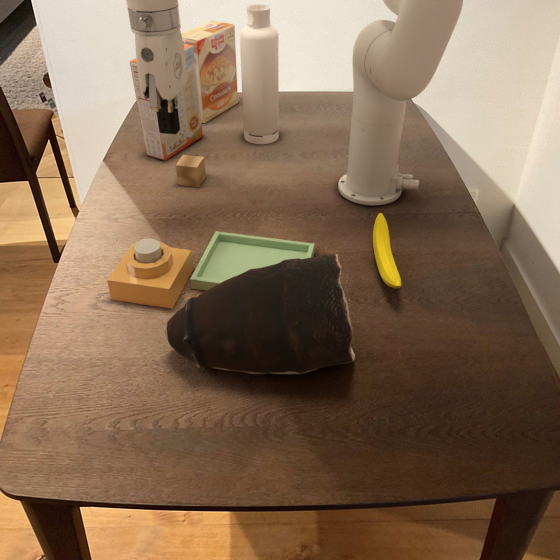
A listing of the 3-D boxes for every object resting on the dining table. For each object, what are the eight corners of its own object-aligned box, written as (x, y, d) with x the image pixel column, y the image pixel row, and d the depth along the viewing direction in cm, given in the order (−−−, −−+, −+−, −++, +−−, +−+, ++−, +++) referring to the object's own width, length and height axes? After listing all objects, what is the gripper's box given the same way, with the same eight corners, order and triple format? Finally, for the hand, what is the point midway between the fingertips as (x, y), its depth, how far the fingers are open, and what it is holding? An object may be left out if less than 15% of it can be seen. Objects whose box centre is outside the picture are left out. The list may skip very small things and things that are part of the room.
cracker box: (183, 131, 137) (173, 40, 123) (204, 137, 134) (195, 44, 121) (143, 155, 127) (127, 59, 114) (165, 162, 125) (151, 64, 112)
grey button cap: (165, 250, 91) (164, 239, 89) (156, 265, 88) (154, 255, 86) (142, 247, 91) (140, 236, 90) (131, 262, 88) (129, 251, 87)
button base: (193, 269, 96) (190, 239, 92) (172, 309, 88) (167, 278, 84) (137, 261, 98) (131, 232, 94) (111, 299, 90) (104, 269, 86)
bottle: (238, 132, 136) (232, 5, 118) (270, 126, 139) (268, 0, 121) (252, 146, 130) (247, 14, 113) (284, 140, 133) (285, 10, 115)
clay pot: (151, 260, 78) (333, 226, 76) (185, 328, 89) (345, 301, 87) (140, 348, 68) (350, 312, 66) (180, 413, 79) (361, 384, 77)
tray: (314, 252, 99) (314, 243, 98) (299, 304, 89) (299, 294, 88) (216, 240, 102) (215, 230, 101) (191, 288, 92) (189, 278, 91)
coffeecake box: (204, 124, 140) (197, 40, 128) (181, 117, 143) (172, 35, 130) (239, 103, 150) (235, 23, 137) (217, 97, 153) (211, 19, 140)
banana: (384, 311, 88) (389, 278, 84) (368, 238, 102) (371, 208, 98) (403, 310, 88) (409, 278, 84) (384, 238, 103) (388, 208, 99)
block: (205, 176, 120) (204, 156, 117) (199, 187, 117) (196, 167, 114) (185, 174, 121) (183, 154, 118) (177, 184, 117) (175, 164, 114)
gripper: (161, 34, 81) (176, 153, 93) (193, 6, 93) (203, 115, 104) (111, 31, 82) (132, 149, 94) (148, 4, 94) (163, 112, 105)
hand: (169, 131), depth 99 cm, fingers closed
